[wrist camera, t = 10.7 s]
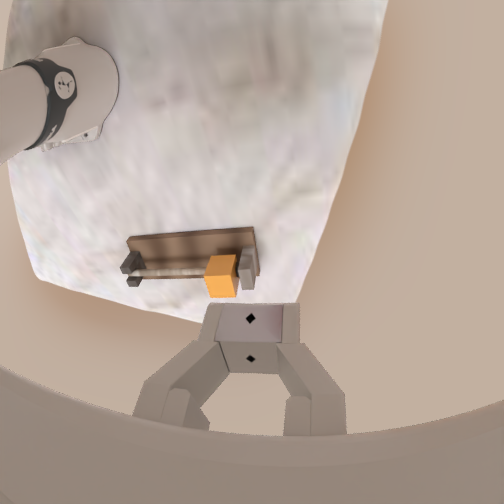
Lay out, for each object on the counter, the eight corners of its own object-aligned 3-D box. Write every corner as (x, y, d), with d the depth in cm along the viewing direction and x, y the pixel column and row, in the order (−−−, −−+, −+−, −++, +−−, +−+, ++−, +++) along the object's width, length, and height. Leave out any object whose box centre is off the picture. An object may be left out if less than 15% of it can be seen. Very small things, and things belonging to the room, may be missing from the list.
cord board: (145, 274, 55) (131, 300, 49) (129, 236, 50) (111, 261, 44) (259, 270, 51) (256, 300, 45) (253, 226, 46) (247, 255, 40)
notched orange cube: (216, 276, 48) (210, 297, 44) (210, 255, 46) (203, 276, 42) (240, 275, 47) (235, 297, 43) (235, 254, 45) (230, 275, 41)
